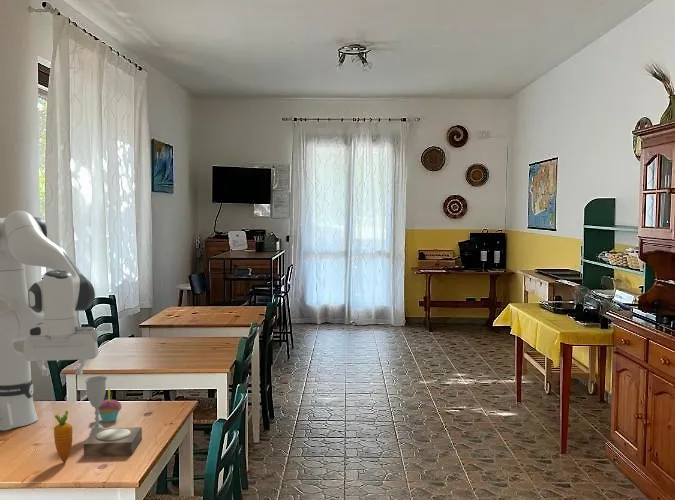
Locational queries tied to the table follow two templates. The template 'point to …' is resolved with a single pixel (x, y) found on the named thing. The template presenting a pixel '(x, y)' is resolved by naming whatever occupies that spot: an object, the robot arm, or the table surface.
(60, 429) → the carrot
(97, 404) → the chalice
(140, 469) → the table surface
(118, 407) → the cupcake
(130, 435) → the walnut plinth
